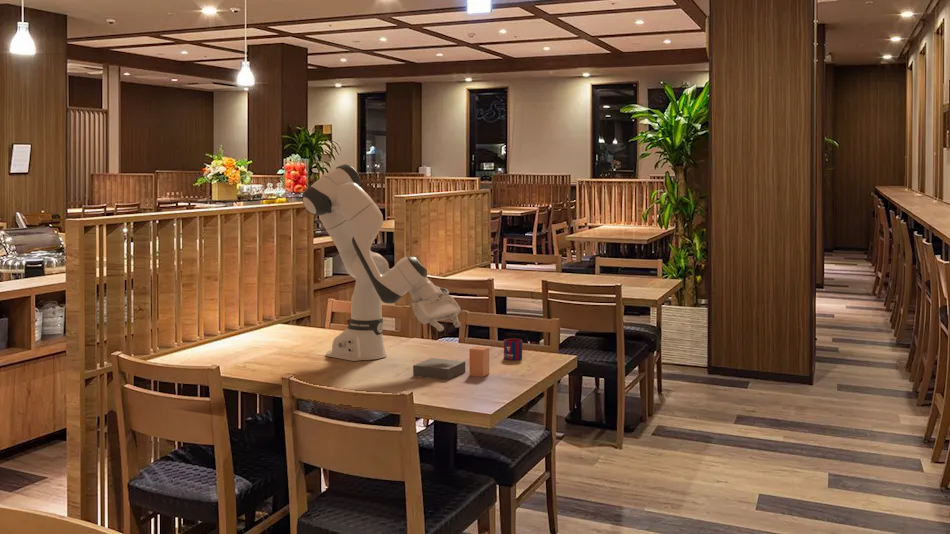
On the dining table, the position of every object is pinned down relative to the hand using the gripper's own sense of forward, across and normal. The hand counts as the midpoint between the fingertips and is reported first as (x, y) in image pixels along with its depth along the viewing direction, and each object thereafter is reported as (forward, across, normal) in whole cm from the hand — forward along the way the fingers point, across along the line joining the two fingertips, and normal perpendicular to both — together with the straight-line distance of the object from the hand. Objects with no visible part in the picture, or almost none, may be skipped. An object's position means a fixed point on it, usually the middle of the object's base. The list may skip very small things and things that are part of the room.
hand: (450, 328), depth 296 cm
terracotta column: (+19, 0, +2) cm, 19 cm away
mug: (+16, +30, +5) cm, 34 cm away
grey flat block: (+11, -7, +10) cm, 16 cm away
